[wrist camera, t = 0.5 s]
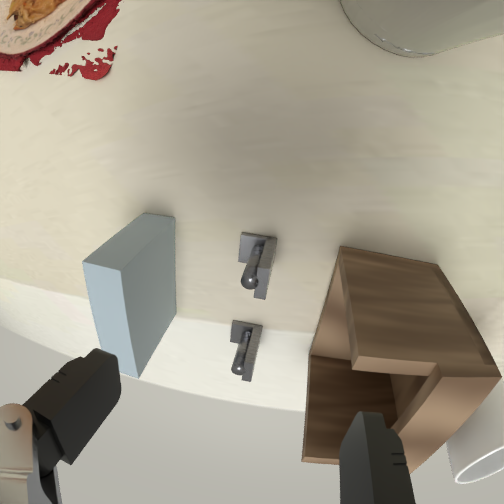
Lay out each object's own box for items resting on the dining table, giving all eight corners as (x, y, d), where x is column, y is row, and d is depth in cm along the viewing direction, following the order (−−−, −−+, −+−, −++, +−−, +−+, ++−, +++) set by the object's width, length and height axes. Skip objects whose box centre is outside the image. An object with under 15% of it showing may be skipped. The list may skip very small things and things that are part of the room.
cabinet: (340, 246, 24) (360, 370, 13) (437, 264, 23) (502, 376, 12) (308, 354, 30) (300, 473, 18) (391, 364, 29) (409, 474, 17)
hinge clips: (242, 232, 25) (227, 261, 21) (277, 238, 25) (270, 269, 20) (231, 338, 30) (219, 375, 26) (259, 343, 30) (250, 381, 25)
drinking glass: (428, 372, 29) (456, 491, 15) (413, 334, 27) (449, 471, 13) (480, 345, 26) (526, 457, 13) (472, 303, 24) (535, 427, 11)
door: (133, 211, 26) (70, 258, 18) (175, 217, 25) (120, 270, 17) (140, 303, 30) (97, 363, 22) (176, 312, 30) (138, 378, 22)
